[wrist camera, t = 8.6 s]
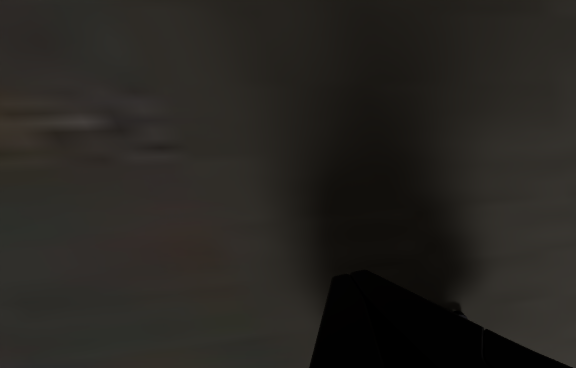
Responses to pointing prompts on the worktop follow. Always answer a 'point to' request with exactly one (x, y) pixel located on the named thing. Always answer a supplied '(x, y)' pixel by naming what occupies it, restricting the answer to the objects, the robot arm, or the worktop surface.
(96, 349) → the worktop surface
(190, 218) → the worktop surface
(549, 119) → the worktop surface
